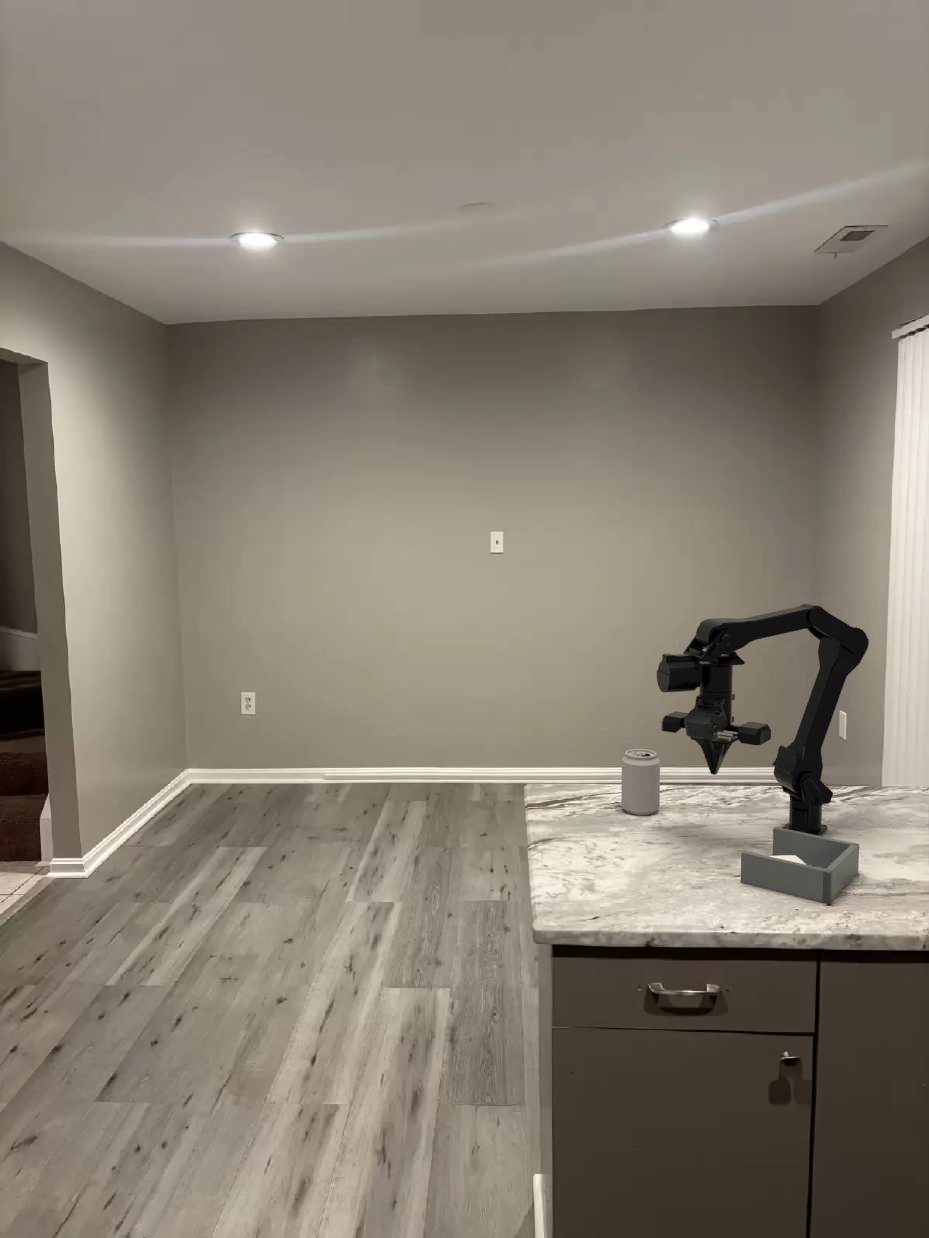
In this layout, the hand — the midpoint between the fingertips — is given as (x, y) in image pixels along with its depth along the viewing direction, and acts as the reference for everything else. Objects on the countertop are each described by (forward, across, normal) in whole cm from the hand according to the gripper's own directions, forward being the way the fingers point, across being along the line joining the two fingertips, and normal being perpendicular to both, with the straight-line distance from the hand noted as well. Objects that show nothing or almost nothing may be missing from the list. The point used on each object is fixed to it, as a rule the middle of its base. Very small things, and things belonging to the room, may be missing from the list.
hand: (714, 774), depth 171 cm
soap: (+13, +18, -10) cm, 24 cm away
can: (+12, -18, +6) cm, 23 cm away
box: (+12, +19, -9) cm, 24 cm away
